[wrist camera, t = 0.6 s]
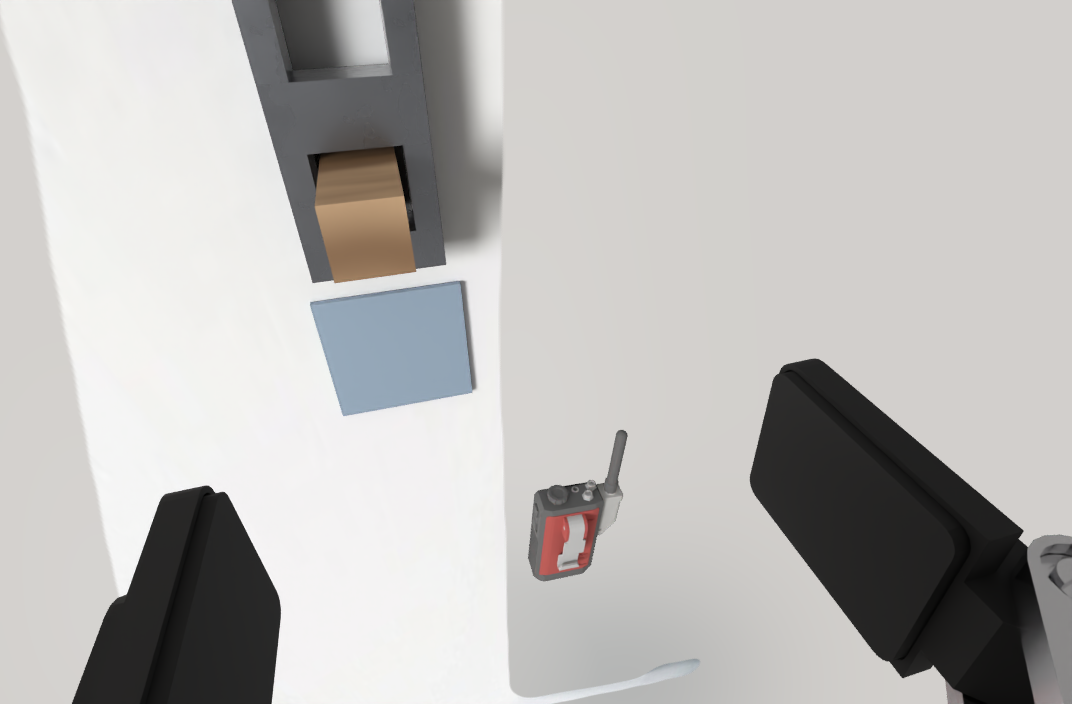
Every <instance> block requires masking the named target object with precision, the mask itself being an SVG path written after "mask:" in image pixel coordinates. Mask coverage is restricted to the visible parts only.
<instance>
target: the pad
mask: <svg viewBox="0 0 1072 704" xmlns="http://www.w3.org/2000/svg"><path fill="white" fill-rule="evenodd" d="M310 307H311V310H312V313H313V317H314V320H315V323H316V327H317V330H318V333H319V337H320V340H321V343H322V347H323V350H324V353H325V357H326V360H327V364H328V367H329V370H330V374H331V377H332V380H333V384H334V387H335V390H336V394H337V397H338V400H339V404H340V407H341V410H342V414H343V416H347V415H353V414H358V413H364V412H369V411H375V410H380V409H386V408H391V407H397V406H402V405H407V404H413V403H418V402H424V401H429V400H435V399H440V398H446V397H451V396H457V395H462V394H468V393H472V385H471V376H470V367H469V358H468V348H467V339H466V330H465V321H464V312H463V303H462V294H461V285H460V281H456V282H449V283H442V284H435V285H428V286H421V287H414V288H407V289H401V290H394V291H387V292H380V293H373V294H366V295H359V296H352V297H345V298H338V299H331V300H324V301H317V302H310Z"/></svg>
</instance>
